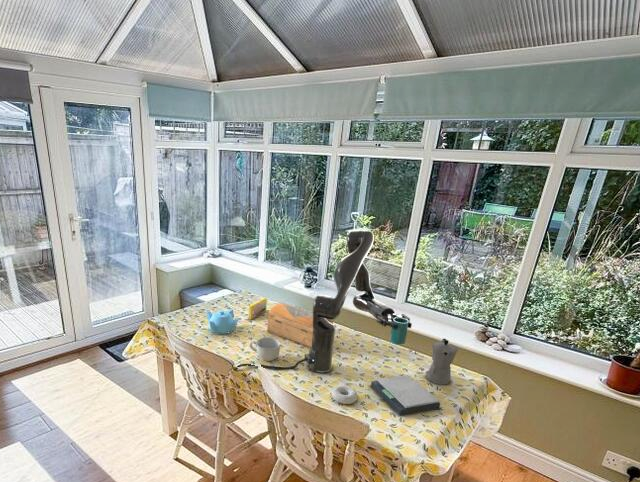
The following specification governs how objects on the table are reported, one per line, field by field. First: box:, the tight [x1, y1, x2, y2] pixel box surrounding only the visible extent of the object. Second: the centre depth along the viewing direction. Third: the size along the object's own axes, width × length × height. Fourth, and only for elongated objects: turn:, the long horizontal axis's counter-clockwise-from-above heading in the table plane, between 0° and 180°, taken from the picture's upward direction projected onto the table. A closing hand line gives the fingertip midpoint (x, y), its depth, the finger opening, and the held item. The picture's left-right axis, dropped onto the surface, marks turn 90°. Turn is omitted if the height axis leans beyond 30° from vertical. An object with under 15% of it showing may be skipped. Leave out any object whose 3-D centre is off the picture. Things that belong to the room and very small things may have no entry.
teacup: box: [249, 336, 281, 362], centre depth 186 cm, size 14×11×8 cm
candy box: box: [248, 297, 268, 321], centre depth 233 cm, size 16×2×8 cm, turn 147°
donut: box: [330, 385, 359, 405], centre depth 158 cm, size 10×3×10 cm
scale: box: [370, 374, 441, 416], centre depth 159 cm, size 17×20×3 cm
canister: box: [389, 318, 410, 345], centre depth 178 cm, size 6×6×10 cm
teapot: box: [205, 308, 239, 336], centre depth 213 cm, size 15×15×11 cm
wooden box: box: [266, 302, 334, 348], centre depth 207 cm, size 30×16×14 cm, turn 48°
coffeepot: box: [426, 338, 459, 385], centre depth 170 cm, size 15×9×18 cm, turn 159°
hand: (403, 326), depth 175 cm, fingers closed on canister, 6 cm apart
